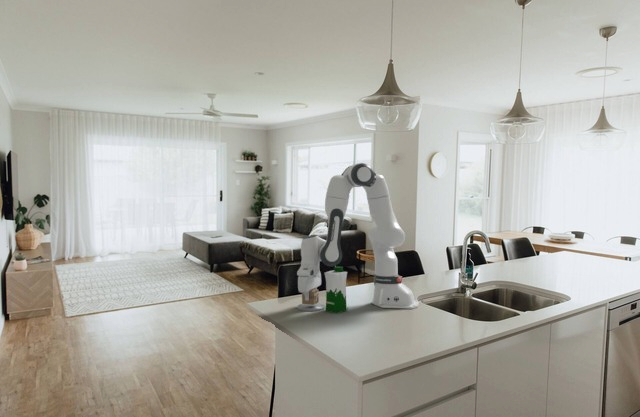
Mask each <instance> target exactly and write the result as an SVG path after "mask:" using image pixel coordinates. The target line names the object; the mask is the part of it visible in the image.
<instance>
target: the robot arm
mask: <svg viewBox="0 0 640 417" xmlns="http://www.w3.org/2000/svg"><path fill="white" fill-rule="evenodd" d="M388 186H389V185H388V184H387V181H386V179H385V176H384V175H382V174H378V173H376V172H375V171H374V169H373V168H372V167H371V166H370V165H369V164H367V163H363V162H360V163H354V164H352V165H349V166H348V167H347V168H345V169H344V170H343V172H342V173H341V174H336V175H333V176H332V177H331V178H330V180H329V183H328V185H327V190H326V193H325V200H324V201H325V202H324V211H325V214H326V217H327V220H328V225H327V226H328V227H327V234H326V239H324V238H321V237H320V236H319V235H315V234H313V235H312V234H311V235H307V236H305V237H303V238H302V240H301V244H300V245H301V246H300V256H301V261H300V267H299V268H298V270H297V272H296V275H297V276H298V277H297V289H298V293H301V294H302V293H304V295H305V300H306V301H308V300H310V296H309V291H310V290H312V289H318V287H320V286H321V285H322V273H321V271H320V262H322V263H323V265H325V266H327V267H337V266H338V265H339V264H340V263H341V262H342V259H343V251H342V247H341V237H342V230H343V224H344V219H345V217H346V213H347V209H348V205H349V199H350V193H351V191H352V189H353V188H361V187H362V188H363V189H364V190H365V193H366V194H365V195H366V198H367V205H368V210H369V214H370V216H371V218H372V219H373V221H374V225H372V226H371V227H370V228H369V229H368V232H367V233H368V234H367V236H368V238H369V240H370V243H371V247H372V251H373V257H374V275H373V286H374V289H373V290H374V291H373V296H372V301H371V304H372V305H375V306H377V307H379V308H382V309H385V308H387V309H409V310H410V309H416V308H417V307H419V305H420V304H419V301H418V300H416V299H415V297H414V293H413V291H412V290H411V288H409V287H408V286H407V285H405V284H404V283H403V279H402V278H403V276H401V275H399V274H398V273H399V272H398V271H399V270H398V269H399V268H398V263H399V262H398V257H397V256H396V253H395V250H394V248H398V247H401V246H402V245H403V244H404V243H405V239H406V233H405V231H404V230H403V229H402V228H401V226H400V224H399V221H398V219H397V217H396V214H395V212H394V209H393V204H392V201H391V196H390V195H391V194H390V191H389V187H388Z"/></svg>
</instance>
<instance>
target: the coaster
mask: <svg viewBox="0 0 640 417" xmlns="http://www.w3.org/2000/svg"><path fill="white" fill-rule="evenodd" d="M296 309H297V310H299V311H301V312H319V311H322V310H323V311H324V309H326V305H325V304H323V303H319V302H318V303H316V304H315V305H309V304H302V303H299V304H298V305H297V307H296Z"/></svg>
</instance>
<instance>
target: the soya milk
mask: <svg viewBox="0 0 640 417" xmlns="http://www.w3.org/2000/svg"><path fill="white" fill-rule="evenodd" d="M323 274H324V278H325V289H326V290H325V291H326V292H325V294H326V295H325V296H326V299H325V300H326V301H325V312H328V313H332V314H340V313H343V312H346V311H347V310H348V309H347V276H348V271H345V270H344V266H341V265H340V266H338V265H336V266H333V270H329V271H326V272H324V273H323Z"/></svg>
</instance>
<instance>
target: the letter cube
mask: <svg viewBox="0 0 640 417" xmlns="http://www.w3.org/2000/svg"><path fill="white" fill-rule="evenodd" d="M319 293H320V292H319V289H318V288H317V289H312V290H310V291H309V296H310V300H308V301H306V300H305V295H304V293H301V304H309V305H315V304H316V303H319V298H320V297H319Z"/></svg>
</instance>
